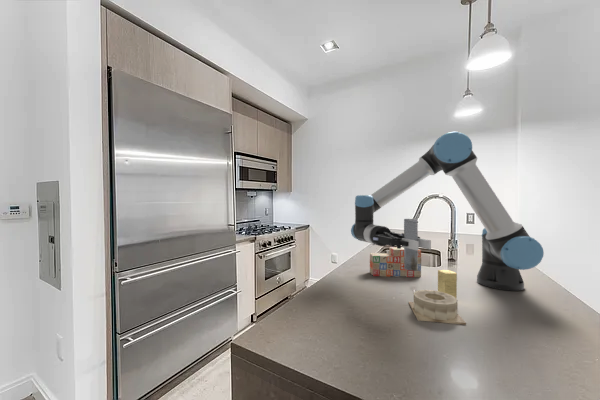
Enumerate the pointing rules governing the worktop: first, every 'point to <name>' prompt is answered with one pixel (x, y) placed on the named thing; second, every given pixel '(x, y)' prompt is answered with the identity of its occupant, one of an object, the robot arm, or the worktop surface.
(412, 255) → the cylinder
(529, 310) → the worktop surface
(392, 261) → the stack of blocks
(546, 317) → the worktop surface
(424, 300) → the socket block
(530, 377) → the worktop surface
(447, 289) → the square bit
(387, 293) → the worktop surface
